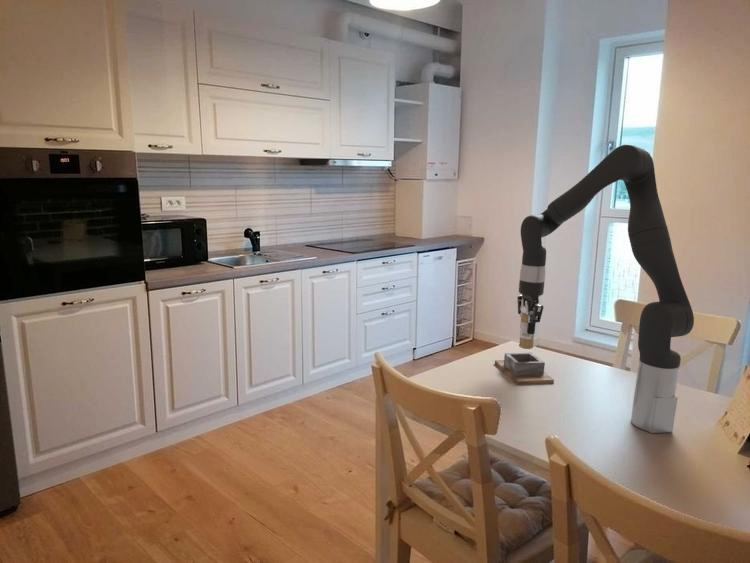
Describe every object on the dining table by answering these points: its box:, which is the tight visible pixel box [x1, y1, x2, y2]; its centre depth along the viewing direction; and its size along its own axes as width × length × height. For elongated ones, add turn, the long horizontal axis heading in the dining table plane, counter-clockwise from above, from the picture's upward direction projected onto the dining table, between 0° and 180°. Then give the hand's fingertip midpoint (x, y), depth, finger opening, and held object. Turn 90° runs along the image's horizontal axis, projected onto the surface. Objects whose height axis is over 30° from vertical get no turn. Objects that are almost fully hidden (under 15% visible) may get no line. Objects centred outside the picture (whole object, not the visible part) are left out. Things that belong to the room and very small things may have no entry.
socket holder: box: [494, 352, 555, 386], centre depth 175 cm, size 18×12×5 cm, turn 10°
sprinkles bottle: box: [518, 306, 535, 350], centre depth 172 cm, size 5×5×14 cm
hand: (527, 331), depth 173 cm, fingers closed on sprinkles bottle, 4 cm apart
